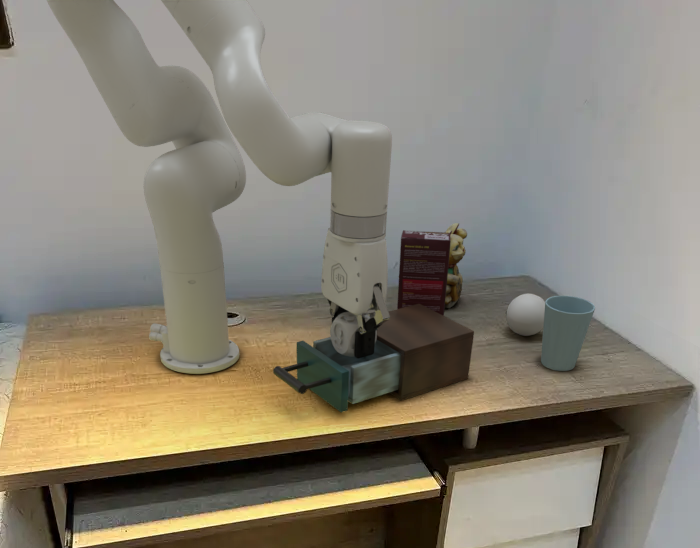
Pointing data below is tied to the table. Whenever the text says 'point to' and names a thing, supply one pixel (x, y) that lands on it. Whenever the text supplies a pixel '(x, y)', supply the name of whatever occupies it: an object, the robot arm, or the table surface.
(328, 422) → the table surface
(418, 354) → the cabinet
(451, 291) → the decorative figurine
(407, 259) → the supplement box
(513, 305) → the white ball
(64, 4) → the robot arm
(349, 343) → the die
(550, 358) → the cup
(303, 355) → the teal pull-out drawer
